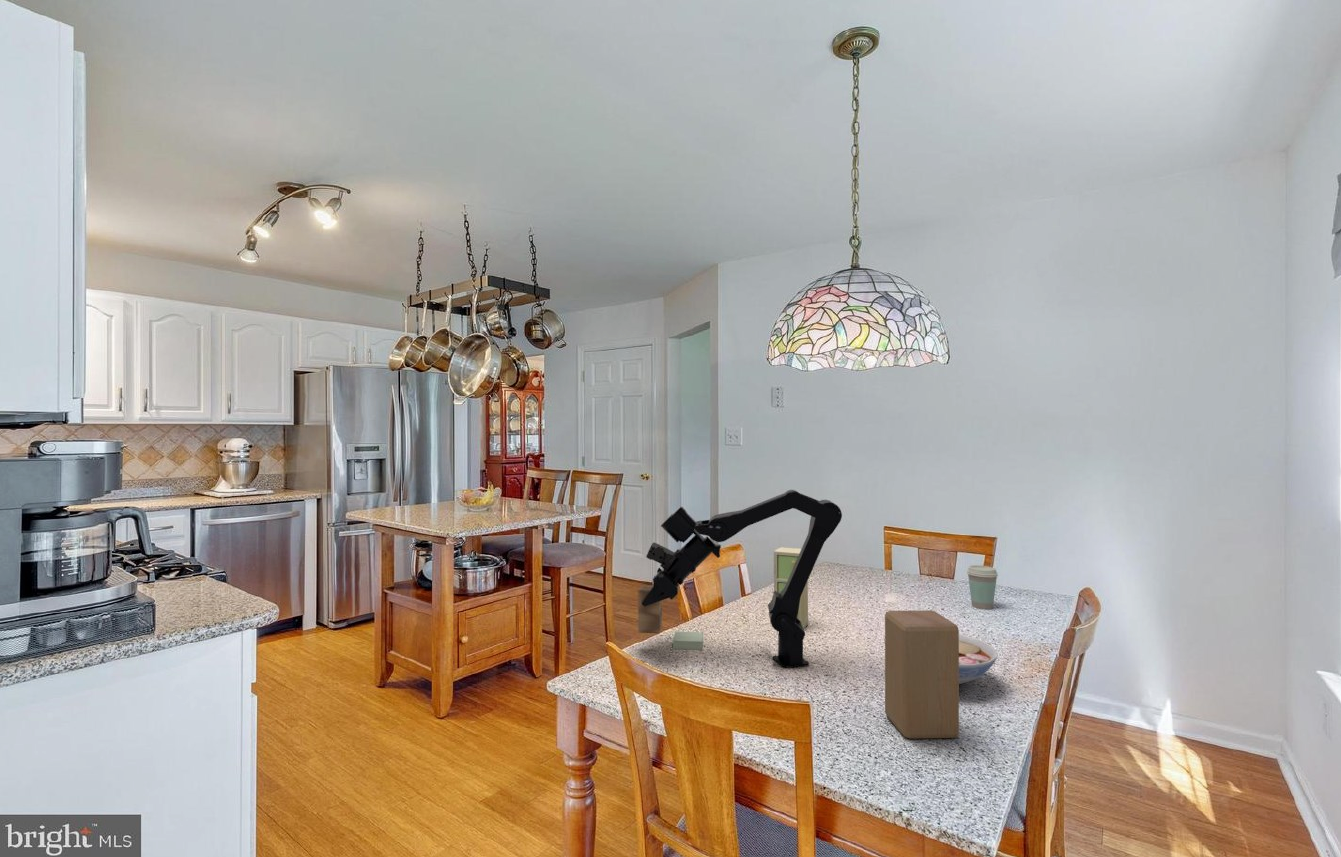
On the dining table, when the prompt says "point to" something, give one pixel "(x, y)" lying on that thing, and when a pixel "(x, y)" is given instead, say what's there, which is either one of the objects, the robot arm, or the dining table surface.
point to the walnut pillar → (648, 613)
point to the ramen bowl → (974, 658)
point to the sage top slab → (688, 640)
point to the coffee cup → (982, 586)
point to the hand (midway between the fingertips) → (644, 601)
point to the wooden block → (922, 674)
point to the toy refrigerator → (782, 571)
